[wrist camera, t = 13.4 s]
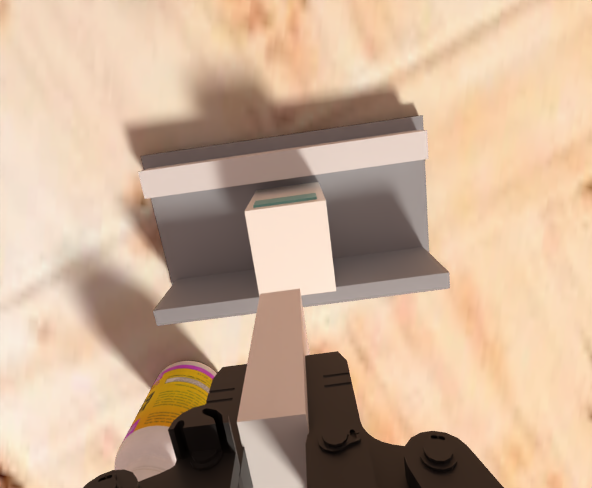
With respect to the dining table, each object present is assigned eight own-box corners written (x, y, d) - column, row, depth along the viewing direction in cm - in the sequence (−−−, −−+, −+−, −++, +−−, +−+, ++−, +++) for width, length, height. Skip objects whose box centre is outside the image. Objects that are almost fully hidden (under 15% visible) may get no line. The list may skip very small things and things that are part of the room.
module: (256, 188, 32) (244, 209, 24) (318, 180, 32) (325, 197, 24) (268, 260, 34) (260, 300, 26) (326, 252, 34) (336, 291, 26)
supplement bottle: (161, 351, 38) (96, 462, 25) (231, 365, 38) (200, 480, 26) (152, 409, 39) (87, 539, 27) (219, 422, 40) (185, 555, 28)
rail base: (145, 155, 32) (105, 163, 26) (418, 115, 32) (452, 113, 25) (178, 291, 36) (151, 330, 29) (425, 259, 35) (457, 291, 28)
